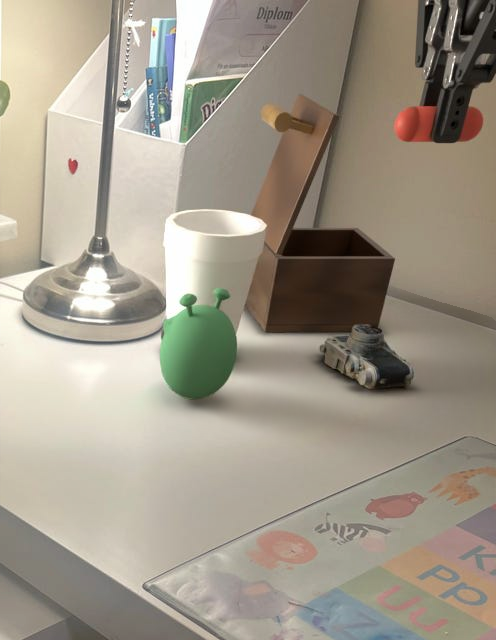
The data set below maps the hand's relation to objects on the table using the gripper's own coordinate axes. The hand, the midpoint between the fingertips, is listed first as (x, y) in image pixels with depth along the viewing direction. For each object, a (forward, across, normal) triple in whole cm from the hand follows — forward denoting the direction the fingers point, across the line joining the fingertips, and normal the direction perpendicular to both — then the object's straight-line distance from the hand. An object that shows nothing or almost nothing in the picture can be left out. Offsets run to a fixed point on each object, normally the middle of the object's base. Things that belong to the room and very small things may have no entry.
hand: (435, 137), depth 78 cm
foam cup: (+23, +12, +14) cm, 29 cm away
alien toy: (+23, +2, +17) cm, 28 cm away
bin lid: (+8, +24, +3) cm, 26 cm away
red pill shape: (0, 0, 0) cm, 0 cm away
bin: (+23, +24, -2) cm, 33 cm away
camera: (+23, +7, -2) cm, 24 cm away
